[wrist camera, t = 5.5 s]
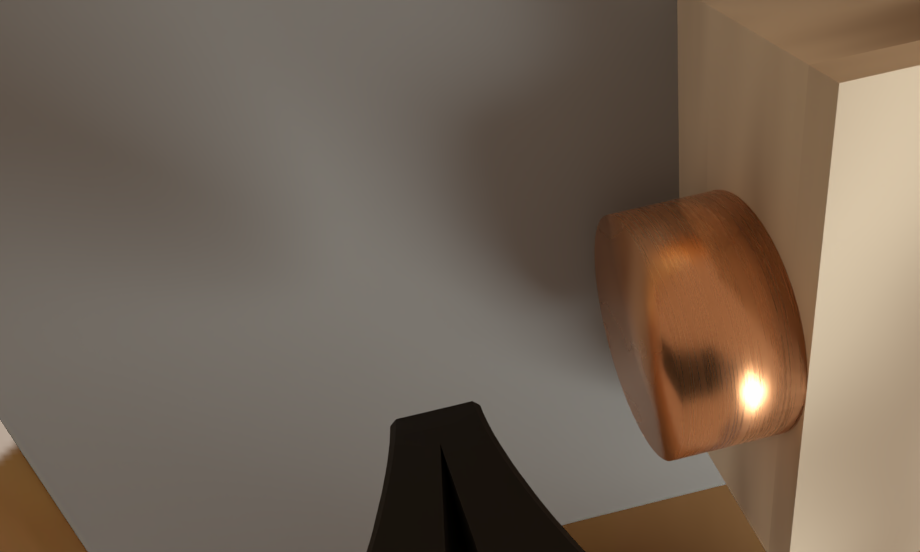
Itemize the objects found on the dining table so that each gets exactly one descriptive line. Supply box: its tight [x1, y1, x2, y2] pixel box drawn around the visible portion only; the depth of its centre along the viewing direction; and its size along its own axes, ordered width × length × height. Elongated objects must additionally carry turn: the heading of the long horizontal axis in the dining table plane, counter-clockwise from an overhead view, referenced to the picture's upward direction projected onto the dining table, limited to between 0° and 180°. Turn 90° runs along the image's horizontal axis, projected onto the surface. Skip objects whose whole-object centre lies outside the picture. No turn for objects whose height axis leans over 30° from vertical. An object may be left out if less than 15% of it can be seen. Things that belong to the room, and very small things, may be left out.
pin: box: [594, 190, 808, 461], centre depth 14 cm, size 10×4×4 cm, turn 99°
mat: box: [0, 0, 726, 552], centre depth 17 cm, size 24×16×1 cm, turn 99°
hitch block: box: [677, 0, 920, 552], centre depth 15 cm, size 6×10×5 cm, turn 9°
